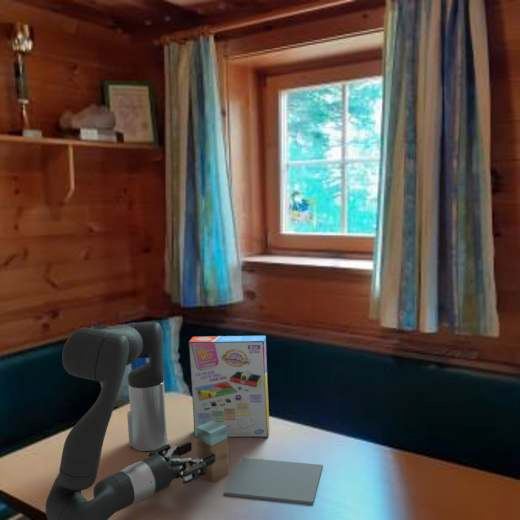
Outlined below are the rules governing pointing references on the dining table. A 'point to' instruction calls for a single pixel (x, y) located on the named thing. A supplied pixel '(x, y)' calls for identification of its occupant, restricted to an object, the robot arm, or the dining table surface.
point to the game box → (230, 383)
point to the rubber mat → (275, 480)
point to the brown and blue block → (213, 448)
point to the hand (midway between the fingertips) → (202, 451)
